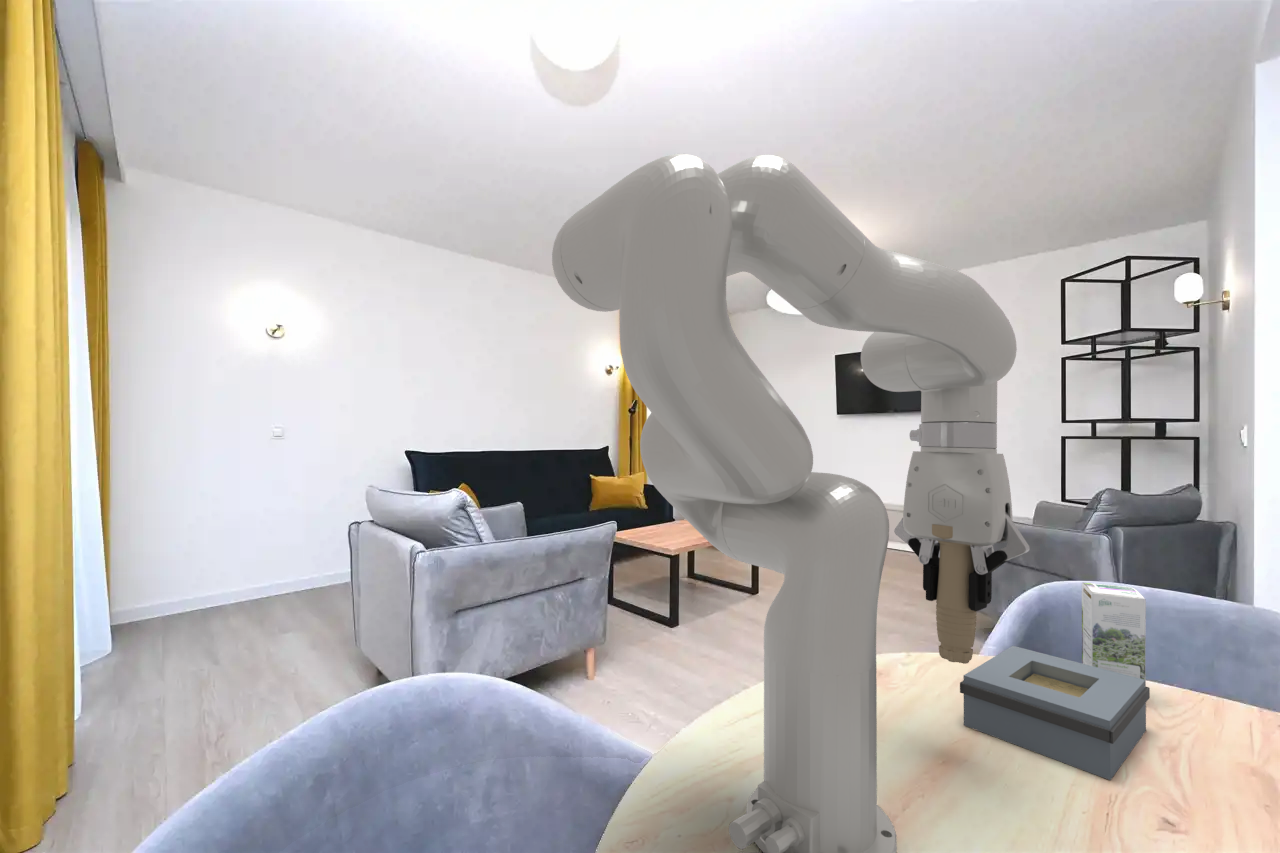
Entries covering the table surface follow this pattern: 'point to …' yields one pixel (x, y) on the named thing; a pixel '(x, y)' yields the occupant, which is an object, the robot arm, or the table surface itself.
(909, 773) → the table surface
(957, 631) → the handle
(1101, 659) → the syrup box
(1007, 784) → the table surface
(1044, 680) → the plate
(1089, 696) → the collar block
